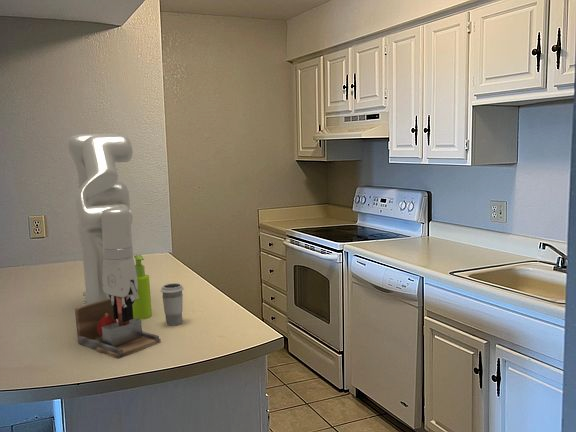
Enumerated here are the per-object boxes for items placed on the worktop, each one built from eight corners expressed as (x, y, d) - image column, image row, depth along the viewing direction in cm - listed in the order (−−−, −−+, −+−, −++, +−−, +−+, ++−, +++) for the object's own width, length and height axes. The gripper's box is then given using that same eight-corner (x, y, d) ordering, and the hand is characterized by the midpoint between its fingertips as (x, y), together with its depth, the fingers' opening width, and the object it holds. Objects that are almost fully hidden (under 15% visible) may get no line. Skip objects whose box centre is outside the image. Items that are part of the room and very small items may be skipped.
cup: (174, 328, 168) (171, 289, 166) (158, 325, 171) (155, 287, 170) (190, 321, 174) (188, 283, 172) (174, 318, 177) (172, 281, 176)
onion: (100, 337, 163) (98, 310, 162) (121, 335, 163) (119, 309, 162) (95, 344, 157) (93, 316, 156) (116, 343, 157) (114, 315, 156)
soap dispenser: (136, 321, 176) (131, 258, 173) (131, 315, 182) (126, 255, 179) (154, 318, 179) (150, 256, 176) (149, 312, 185) (145, 252, 182)
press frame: (74, 343, 158) (71, 309, 157) (116, 329, 169) (114, 296, 168) (118, 358, 146) (115, 321, 144) (160, 342, 157) (158, 307, 155)
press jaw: (101, 344, 153) (97, 290, 151) (131, 333, 161) (127, 282, 159) (113, 348, 150) (108, 293, 148) (143, 336, 158) (139, 285, 156)
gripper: (88, 253, 154) (94, 318, 156) (125, 259, 144) (130, 328, 146) (112, 248, 160) (117, 310, 162) (149, 254, 150) (153, 320, 152)
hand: (123, 318), depth 154 cm, fingers closed on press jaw, 3 cm apart
